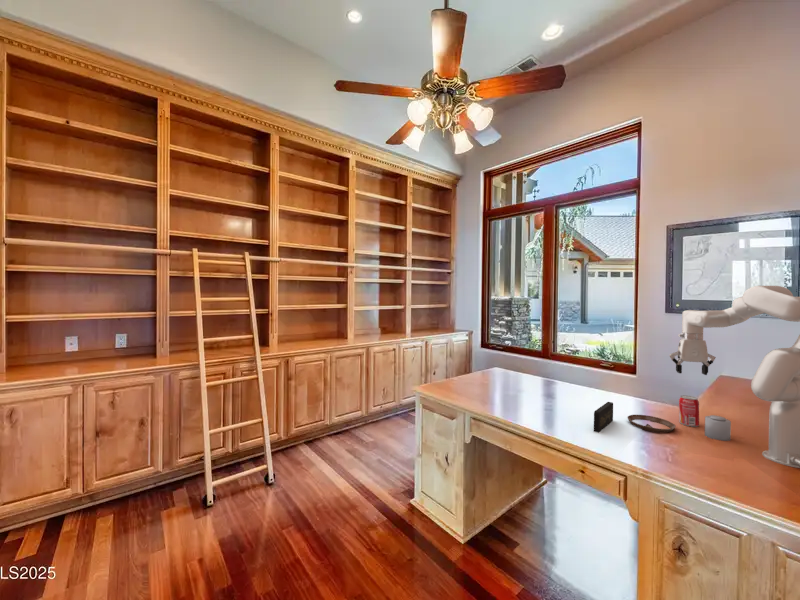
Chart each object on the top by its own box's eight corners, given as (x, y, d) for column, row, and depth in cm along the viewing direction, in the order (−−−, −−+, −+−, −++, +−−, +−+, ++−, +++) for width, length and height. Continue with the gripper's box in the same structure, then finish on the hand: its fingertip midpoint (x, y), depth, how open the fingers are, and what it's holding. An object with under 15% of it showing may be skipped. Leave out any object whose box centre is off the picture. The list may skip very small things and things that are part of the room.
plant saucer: (673, 425, 160) (673, 419, 160) (677, 439, 145) (677, 431, 145) (627, 418, 170) (627, 411, 170) (627, 429, 155) (627, 422, 155)
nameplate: (608, 422, 164) (608, 401, 164) (612, 423, 162) (613, 402, 162) (593, 434, 149) (594, 411, 149) (598, 435, 148) (598, 412, 148)
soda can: (702, 428, 156) (703, 400, 156) (684, 427, 157) (685, 398, 157) (692, 423, 163) (693, 395, 163) (675, 421, 164) (675, 394, 164)
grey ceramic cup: (735, 443, 141) (735, 421, 140) (711, 440, 143) (711, 419, 143) (723, 435, 148) (723, 415, 148) (700, 433, 151) (701, 413, 150)
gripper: (673, 337, 159) (673, 374, 160) (720, 338, 154) (719, 376, 154) (666, 335, 167) (666, 370, 167) (710, 336, 161) (710, 373, 162)
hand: (691, 373), depth 161 cm, fingers open, 9 cm apart
